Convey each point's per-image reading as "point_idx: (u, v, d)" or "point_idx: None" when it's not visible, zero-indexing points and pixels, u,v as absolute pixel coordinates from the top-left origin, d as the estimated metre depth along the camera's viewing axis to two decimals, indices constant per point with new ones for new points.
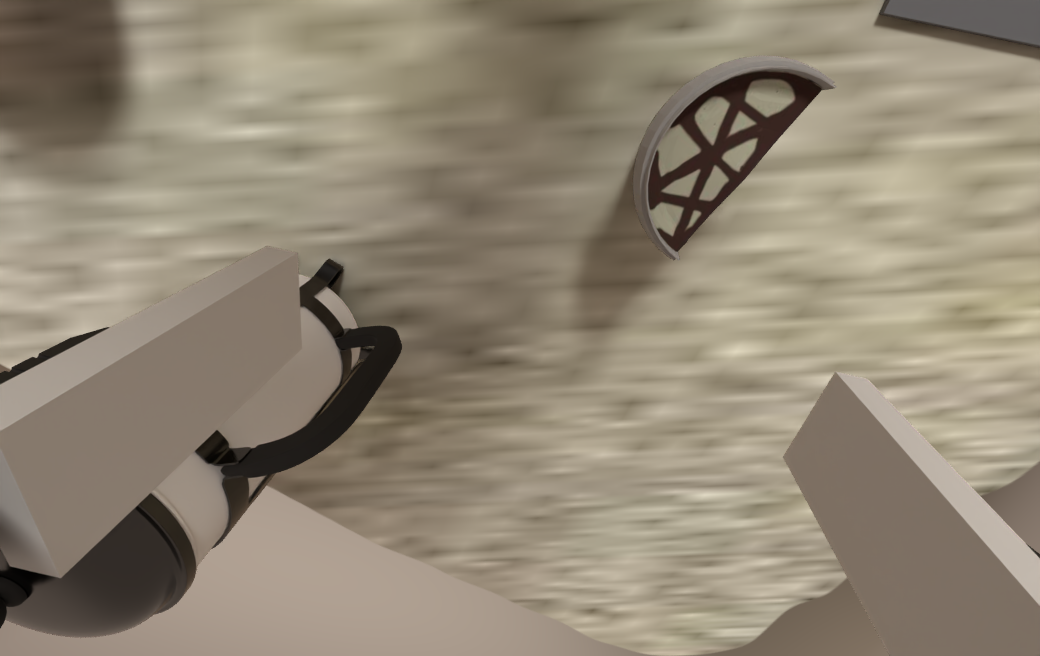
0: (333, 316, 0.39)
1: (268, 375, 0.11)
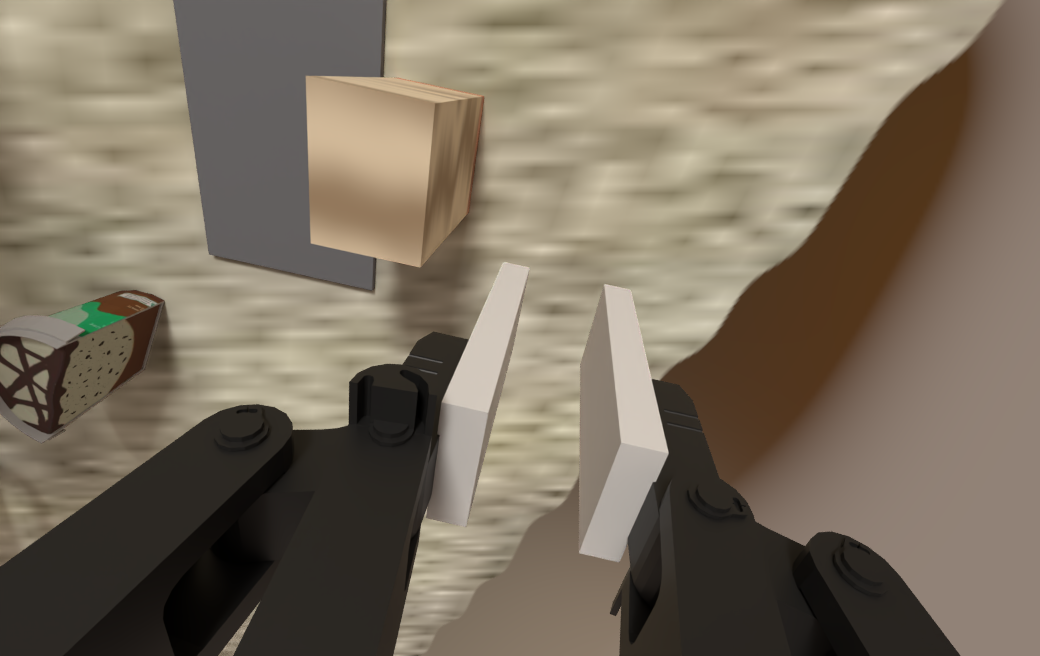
0: None
1: (506, 372, 0.13)
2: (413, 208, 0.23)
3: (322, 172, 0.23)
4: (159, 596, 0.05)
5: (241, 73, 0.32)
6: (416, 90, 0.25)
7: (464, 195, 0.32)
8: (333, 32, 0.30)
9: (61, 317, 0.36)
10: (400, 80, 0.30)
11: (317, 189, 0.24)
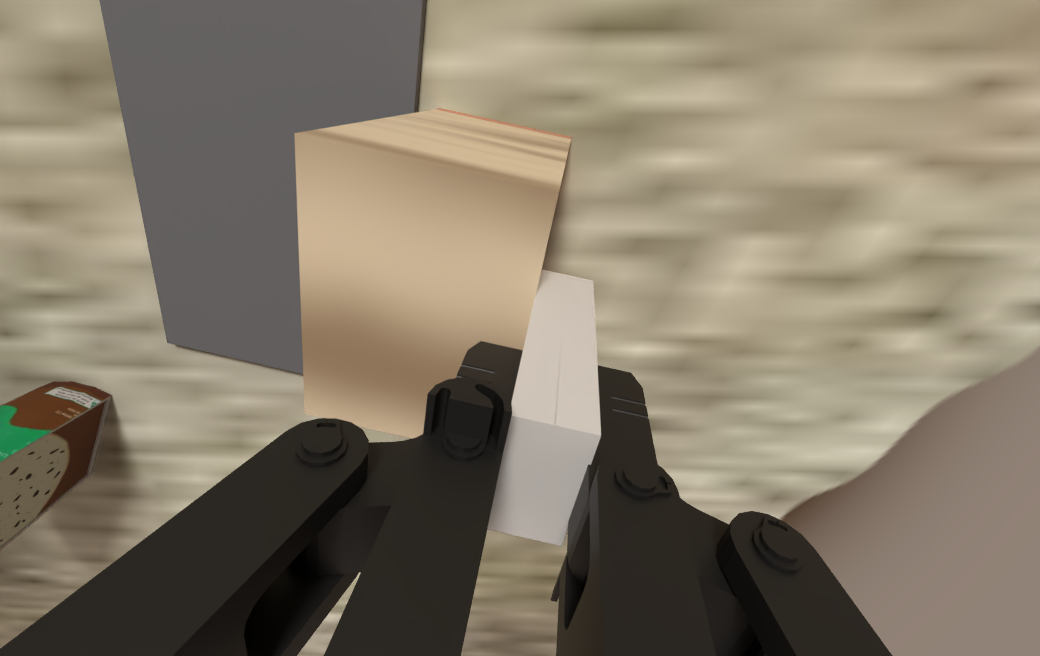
0: None
1: None
2: None
3: (326, 305, 0.12)
4: (242, 611, 0.05)
5: (204, 99, 0.21)
6: (490, 143, 0.15)
7: None
8: (344, 39, 0.20)
9: None
10: (448, 115, 0.19)
11: (317, 332, 0.13)
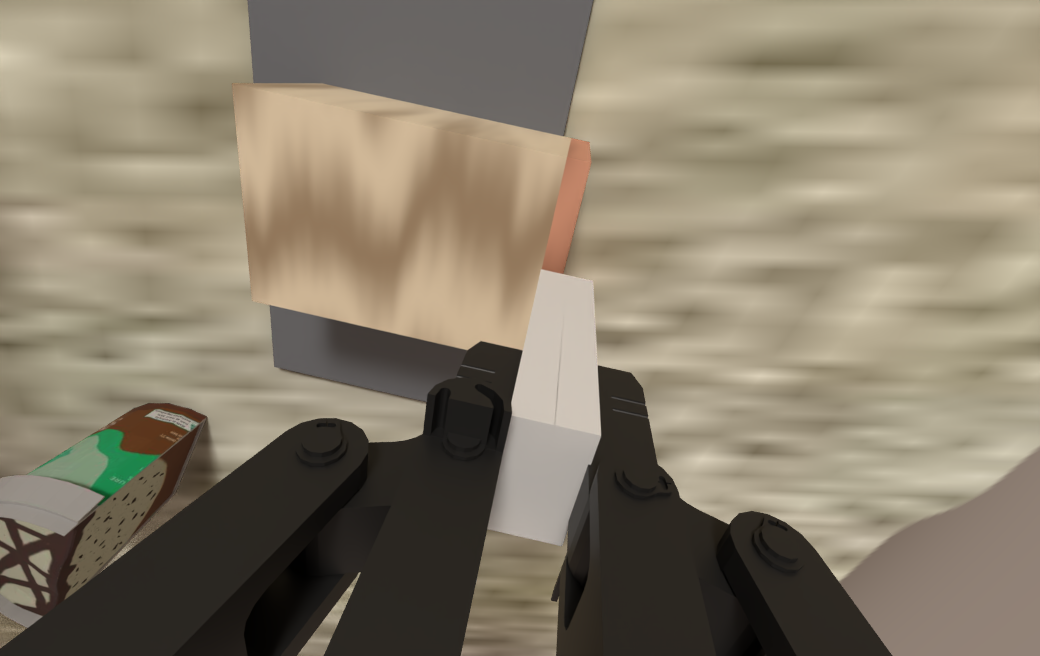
0: None
1: None
2: None
3: None
4: (242, 612, 0.05)
5: None
6: (401, 111, 0.17)
7: (486, 313, 0.18)
8: (498, 73, 0.20)
9: (70, 470, 0.25)
10: (543, 134, 0.20)
11: None
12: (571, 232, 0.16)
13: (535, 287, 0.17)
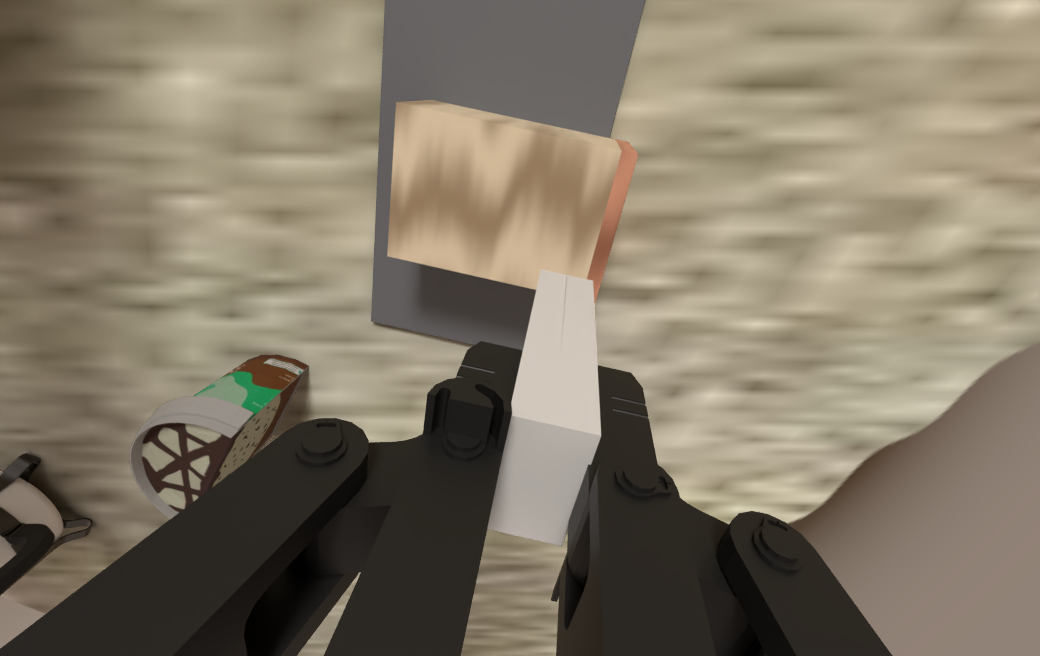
0: (8, 514, 0.46)
1: None
2: None
3: None
4: (242, 612, 0.05)
5: None
6: (501, 120, 0.25)
7: (558, 263, 0.25)
8: (563, 92, 0.27)
9: (222, 395, 0.33)
10: (595, 136, 0.27)
11: None
12: (622, 203, 0.24)
13: (595, 243, 0.25)
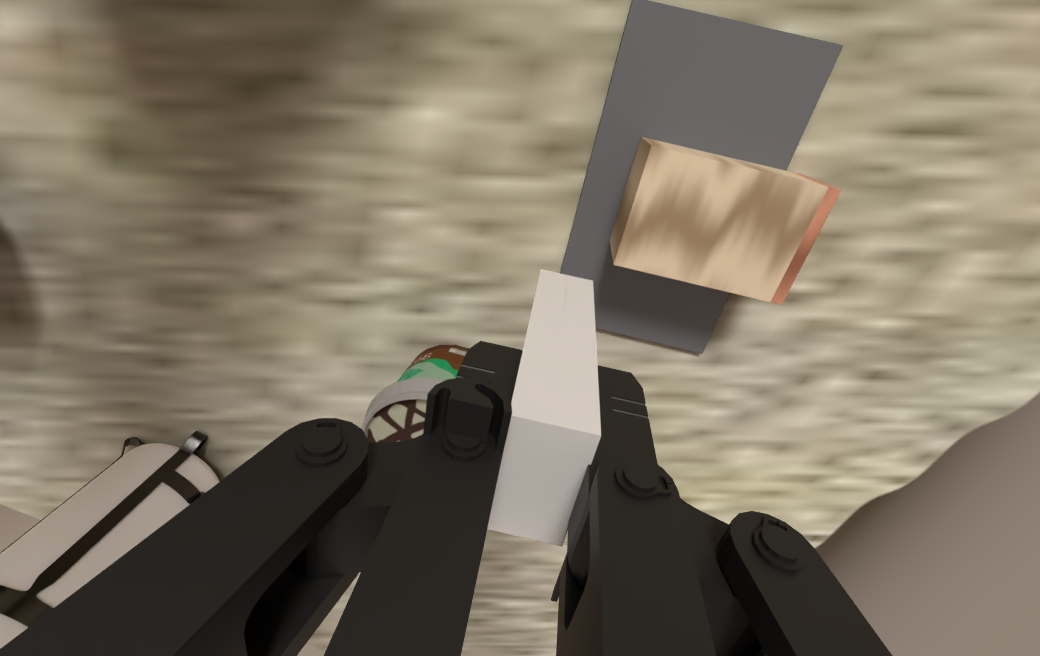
0: (190, 484, 0.51)
1: None
2: (626, 220, 0.32)
3: (624, 194, 0.36)
4: (242, 611, 0.05)
5: None
6: (718, 158, 0.31)
7: (757, 272, 0.32)
8: (754, 134, 0.33)
9: (437, 378, 0.39)
10: (779, 170, 0.34)
11: (620, 205, 0.36)
12: (821, 226, 0.30)
13: (791, 257, 0.31)
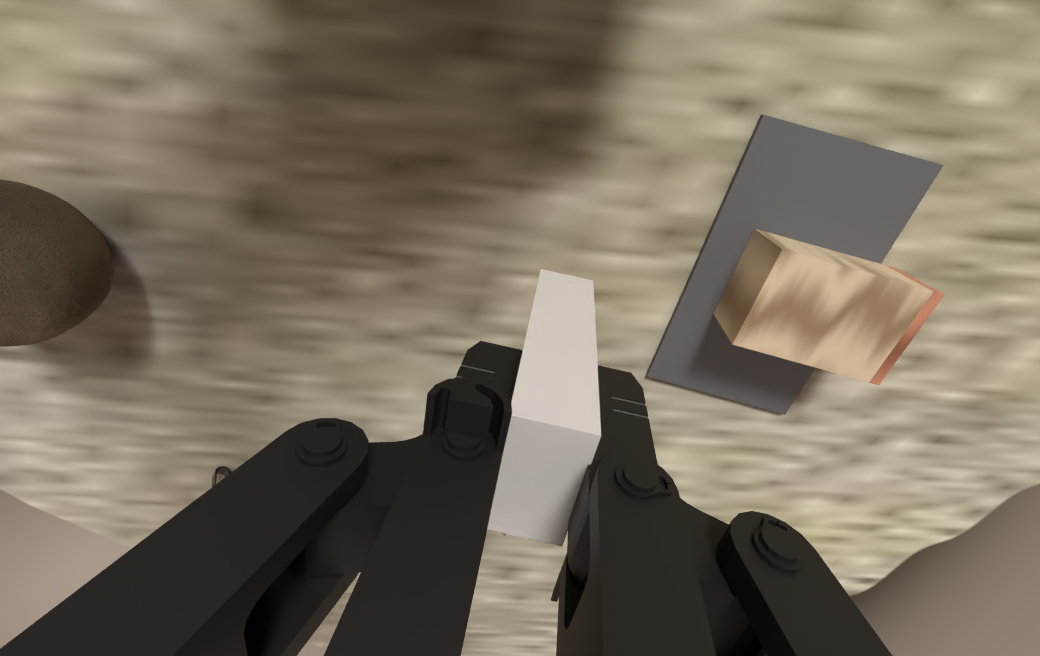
0: None
1: None
2: (747, 307, 0.36)
3: (734, 277, 0.40)
4: (242, 612, 0.05)
5: None
6: (831, 257, 0.36)
7: (861, 357, 0.36)
8: (856, 232, 0.38)
9: None
10: (877, 264, 0.38)
11: (729, 285, 0.41)
12: (922, 323, 0.34)
13: (893, 346, 0.35)
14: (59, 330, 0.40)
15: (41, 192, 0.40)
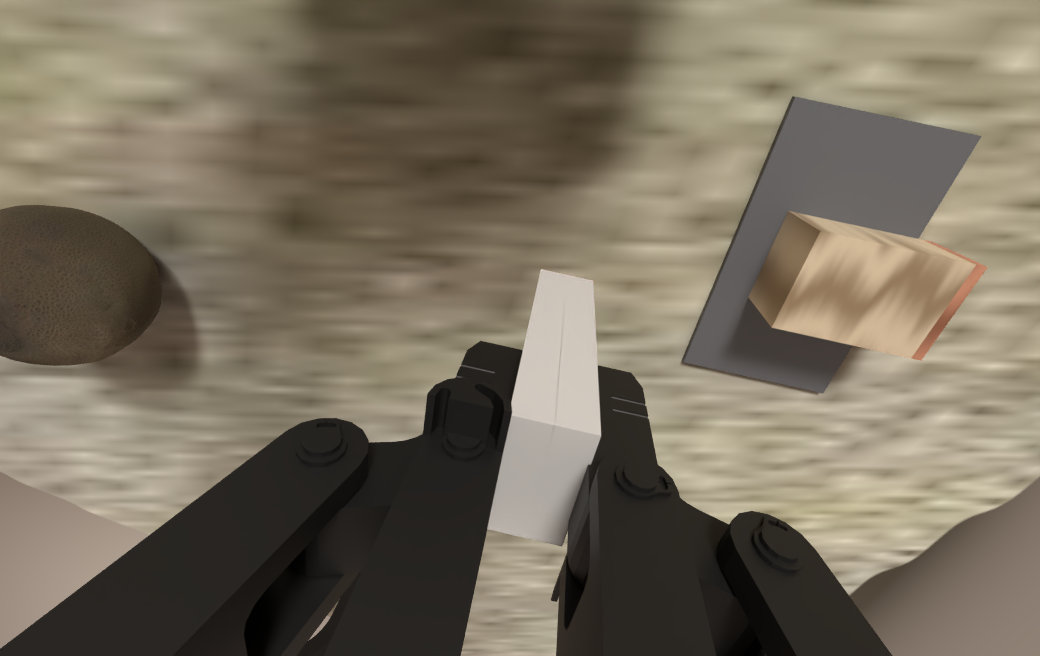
0: None
1: None
2: (786, 289, 0.36)
3: (769, 260, 0.40)
4: (242, 612, 0.05)
5: None
6: (869, 235, 0.36)
7: (903, 334, 0.36)
8: (892, 208, 0.38)
9: None
10: (914, 239, 0.38)
11: (763, 268, 0.41)
12: (965, 296, 0.34)
13: (935, 321, 0.36)
14: (119, 347, 0.42)
15: (93, 216, 0.41)
